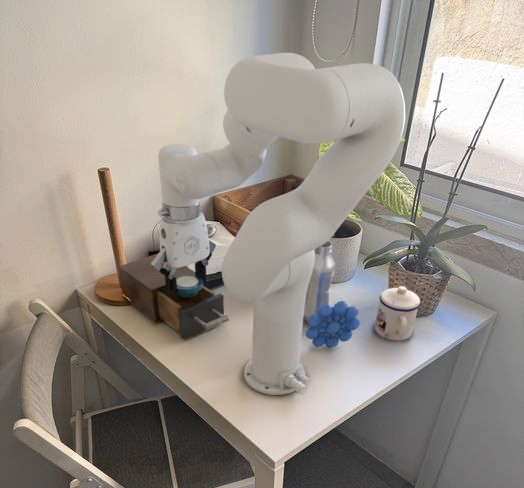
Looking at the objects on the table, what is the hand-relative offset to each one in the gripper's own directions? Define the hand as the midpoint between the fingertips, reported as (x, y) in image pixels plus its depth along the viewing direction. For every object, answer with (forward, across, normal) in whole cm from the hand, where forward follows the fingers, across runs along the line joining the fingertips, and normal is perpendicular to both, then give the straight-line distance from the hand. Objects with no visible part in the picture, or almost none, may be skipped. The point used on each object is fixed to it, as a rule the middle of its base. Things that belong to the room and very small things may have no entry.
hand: (186, 285), depth 115 cm
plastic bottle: (+10, +24, -18) cm, 32 cm away
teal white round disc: (+1, 0, 0) cm, 2 cm away
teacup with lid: (+10, +34, -34) cm, 49 cm away
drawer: (+9, 0, -2) cm, 9 cm away
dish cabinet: (+10, 0, +12) cm, 16 cm away
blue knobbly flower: (+10, +19, -27) cm, 35 cm away
